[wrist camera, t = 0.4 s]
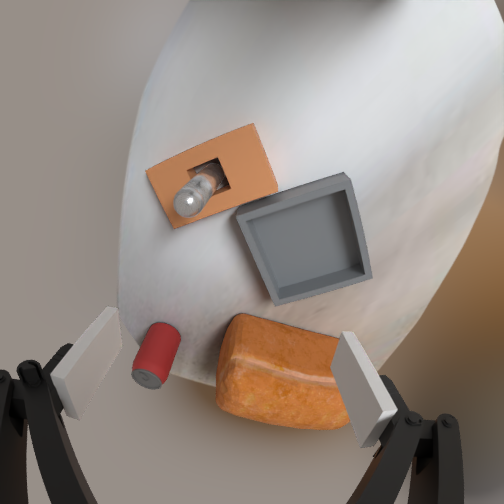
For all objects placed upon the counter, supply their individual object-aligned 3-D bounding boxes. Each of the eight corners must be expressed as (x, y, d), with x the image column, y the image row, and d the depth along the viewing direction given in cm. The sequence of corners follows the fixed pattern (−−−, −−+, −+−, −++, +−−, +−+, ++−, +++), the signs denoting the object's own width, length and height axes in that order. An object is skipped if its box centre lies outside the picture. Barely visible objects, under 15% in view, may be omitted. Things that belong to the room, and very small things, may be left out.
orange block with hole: (253, 122, 34) (251, 123, 31) (277, 185, 38) (278, 191, 35) (153, 166, 37) (145, 170, 35) (180, 220, 41) (174, 229, 38)
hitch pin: (219, 159, 36) (191, 187, 25) (228, 180, 38) (205, 216, 26) (199, 168, 37) (163, 199, 25) (208, 187, 38) (177, 226, 27)
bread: (333, 381, 57) (340, 443, 43) (216, 354, 54) (202, 421, 41) (367, 340, 50) (385, 408, 36) (235, 305, 48) (221, 380, 34)
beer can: (170, 317, 51) (149, 366, 40) (187, 342, 53) (171, 390, 43) (144, 323, 52) (121, 369, 42) (161, 346, 55) (143, 392, 44)
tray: (343, 172, 36) (350, 179, 32) (365, 264, 42) (372, 278, 39) (239, 206, 39) (235, 216, 36) (275, 290, 46) (274, 306, 42)
